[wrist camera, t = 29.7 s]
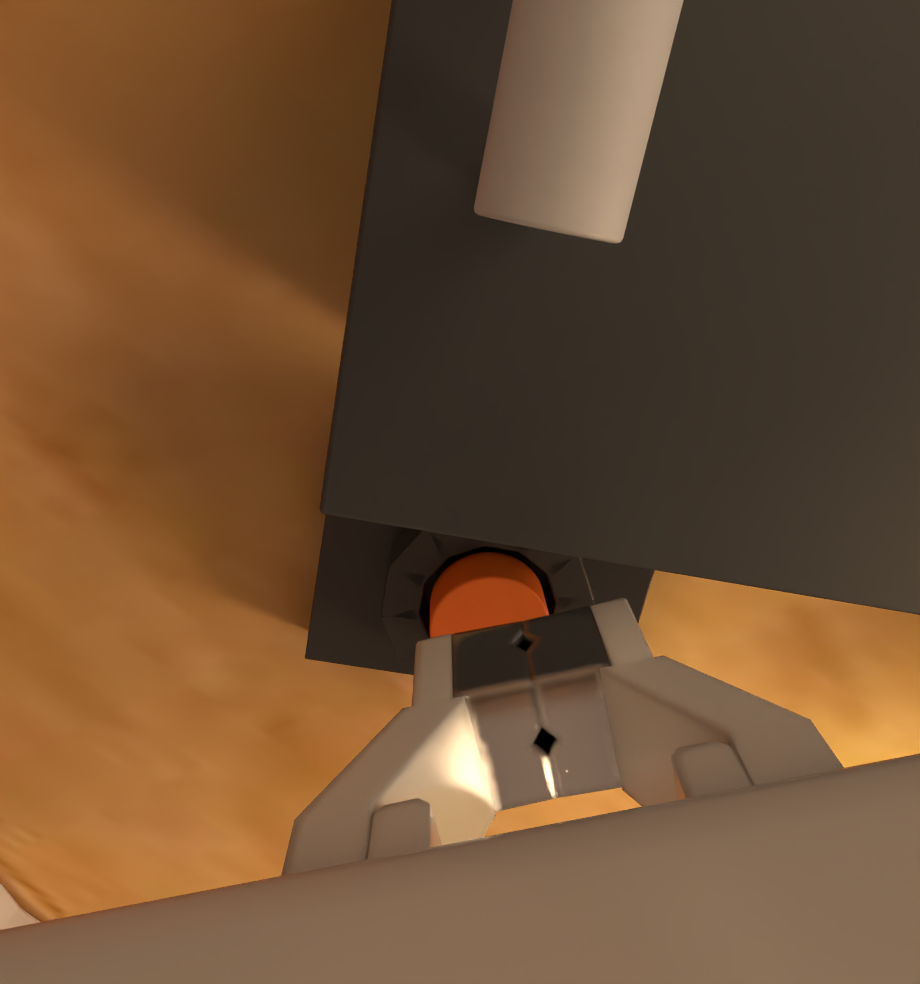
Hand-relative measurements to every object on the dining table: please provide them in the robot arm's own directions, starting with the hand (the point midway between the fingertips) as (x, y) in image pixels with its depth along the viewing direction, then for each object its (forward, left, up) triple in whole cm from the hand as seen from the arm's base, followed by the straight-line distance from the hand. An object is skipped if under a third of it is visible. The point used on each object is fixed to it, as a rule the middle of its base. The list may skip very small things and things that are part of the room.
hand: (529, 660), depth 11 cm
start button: (+1, -6, -12) cm, 14 cm away
